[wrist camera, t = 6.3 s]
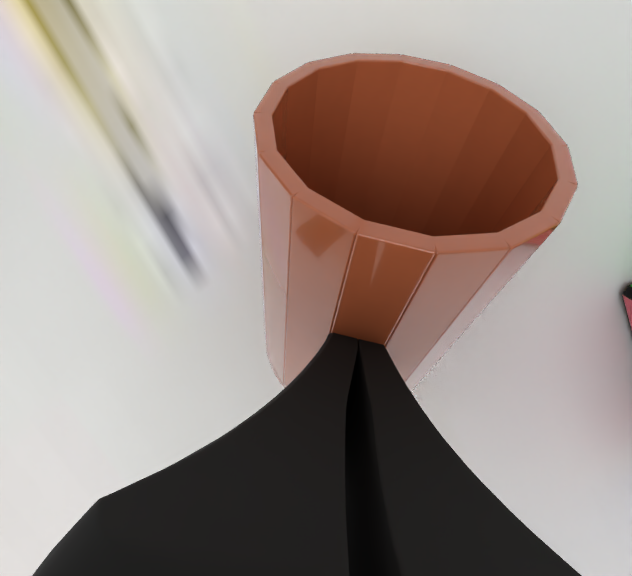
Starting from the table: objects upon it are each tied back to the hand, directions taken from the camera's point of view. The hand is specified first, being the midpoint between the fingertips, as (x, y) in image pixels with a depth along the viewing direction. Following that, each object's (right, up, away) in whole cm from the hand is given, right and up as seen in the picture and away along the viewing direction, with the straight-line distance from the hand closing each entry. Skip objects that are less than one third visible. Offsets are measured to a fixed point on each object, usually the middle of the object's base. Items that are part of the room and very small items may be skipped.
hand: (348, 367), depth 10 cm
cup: (0, 0, +7) cm, 7 cm away
